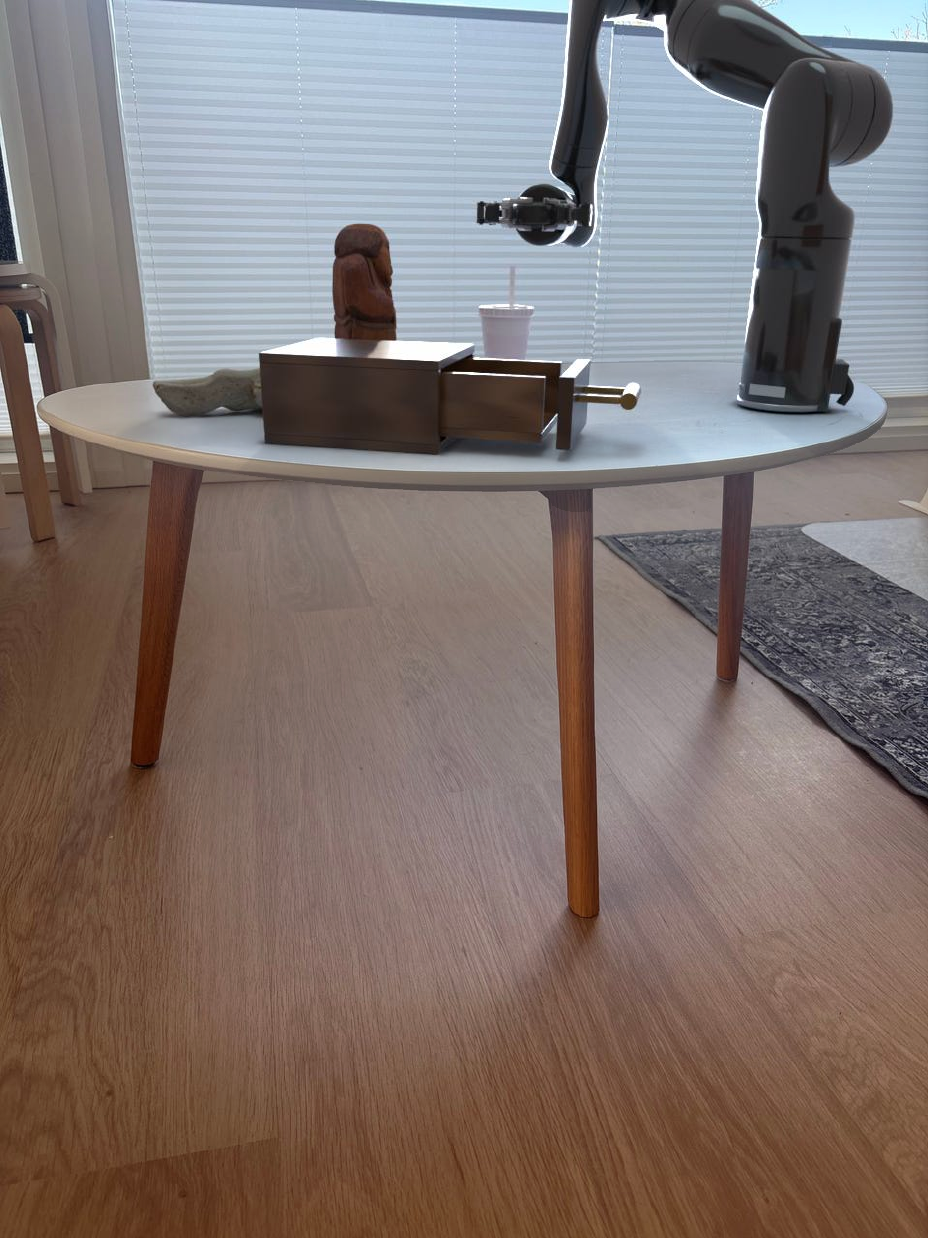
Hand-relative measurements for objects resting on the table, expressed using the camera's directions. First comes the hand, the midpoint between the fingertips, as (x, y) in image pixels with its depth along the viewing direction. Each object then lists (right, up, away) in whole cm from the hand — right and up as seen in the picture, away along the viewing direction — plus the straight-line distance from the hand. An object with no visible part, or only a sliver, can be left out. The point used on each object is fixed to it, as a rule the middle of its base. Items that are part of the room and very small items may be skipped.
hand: (526, 212), depth 111 cm
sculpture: (-31, -28, -17) cm, 45 cm away
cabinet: (-16, -31, -26) cm, 43 cm away
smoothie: (-3, -22, -3) cm, 23 cm away
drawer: (-2, -32, -29) cm, 43 cm away
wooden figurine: (-18, -24, -7) cm, 31 cm away
